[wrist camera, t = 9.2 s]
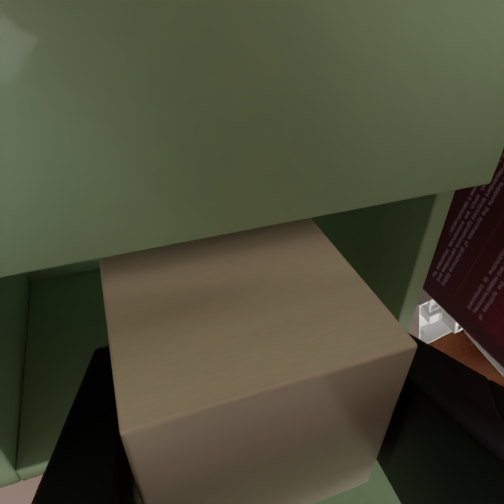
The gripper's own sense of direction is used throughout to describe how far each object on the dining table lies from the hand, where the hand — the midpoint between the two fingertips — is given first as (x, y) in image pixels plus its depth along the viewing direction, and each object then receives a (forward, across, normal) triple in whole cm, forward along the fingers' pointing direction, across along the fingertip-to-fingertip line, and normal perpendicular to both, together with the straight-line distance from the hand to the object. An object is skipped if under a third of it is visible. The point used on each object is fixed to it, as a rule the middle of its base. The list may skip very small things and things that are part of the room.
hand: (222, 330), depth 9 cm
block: (+1, 0, 0) cm, 1 cm away
